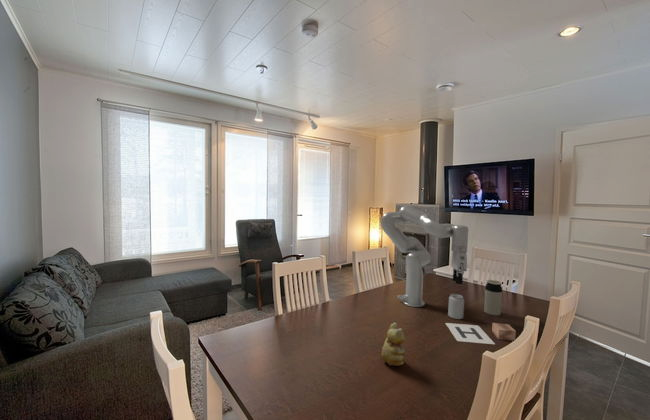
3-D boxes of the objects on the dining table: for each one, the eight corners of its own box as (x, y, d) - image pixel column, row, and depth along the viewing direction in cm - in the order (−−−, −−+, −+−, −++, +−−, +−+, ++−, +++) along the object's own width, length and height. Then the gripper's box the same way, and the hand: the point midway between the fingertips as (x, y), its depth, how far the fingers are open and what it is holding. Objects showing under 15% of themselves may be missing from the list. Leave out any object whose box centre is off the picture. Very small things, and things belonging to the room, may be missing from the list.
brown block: (498, 340, 128) (498, 329, 128) (492, 332, 135) (492, 322, 135) (515, 342, 127) (515, 331, 126) (507, 334, 134) (508, 324, 133)
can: (445, 314, 154) (446, 293, 154) (458, 314, 155) (459, 293, 154) (452, 320, 147) (453, 298, 146) (466, 320, 147) (467, 298, 147)
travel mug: (502, 317, 153) (504, 284, 152) (485, 314, 156) (487, 282, 155) (498, 311, 160) (500, 280, 159) (482, 309, 163) (484, 278, 162)
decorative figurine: (408, 368, 105) (410, 329, 104) (388, 372, 102) (390, 331, 101) (394, 354, 114) (396, 318, 113) (376, 357, 111) (377, 320, 111)
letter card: (457, 341, 125) (457, 340, 125) (445, 323, 143) (445, 322, 143) (495, 345, 123) (495, 344, 123) (478, 326, 141) (478, 325, 141)
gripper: (473, 252, 140) (470, 288, 141) (461, 246, 157) (459, 278, 158) (457, 251, 141) (455, 287, 142) (447, 245, 157) (445, 277, 159)
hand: (457, 282), depth 150 cm, fingers open, 3 cm apart
